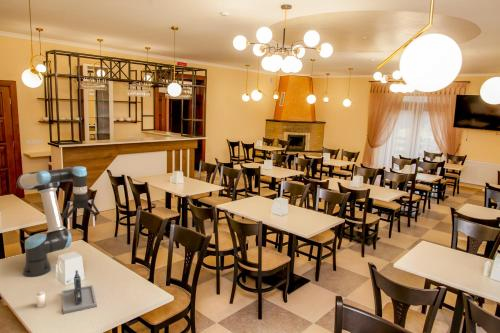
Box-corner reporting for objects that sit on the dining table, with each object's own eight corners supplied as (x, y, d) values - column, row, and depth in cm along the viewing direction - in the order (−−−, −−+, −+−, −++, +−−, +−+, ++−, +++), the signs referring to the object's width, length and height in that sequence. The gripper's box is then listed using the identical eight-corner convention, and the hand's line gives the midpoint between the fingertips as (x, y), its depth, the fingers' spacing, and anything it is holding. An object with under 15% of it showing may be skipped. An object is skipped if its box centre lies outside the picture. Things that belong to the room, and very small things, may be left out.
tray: (62, 293, 200) (61, 290, 199) (92, 287, 207) (92, 285, 207) (63, 314, 181) (63, 311, 181) (96, 306, 189) (96, 303, 188)
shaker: (37, 305, 188) (36, 290, 186) (45, 303, 190) (44, 288, 188) (36, 309, 184) (36, 294, 183) (45, 307, 186) (44, 292, 185)
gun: (77, 267, 202) (80, 271, 189) (79, 296, 201) (82, 302, 188) (71, 268, 200) (74, 272, 188) (73, 297, 200) (76, 303, 187)
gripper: (56, 196, 196) (58, 232, 200) (103, 192, 208) (104, 226, 212) (56, 193, 203) (57, 227, 206) (102, 189, 215) (103, 222, 218)
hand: (81, 227), depth 209 cm, fingers open, 13 cm apart
